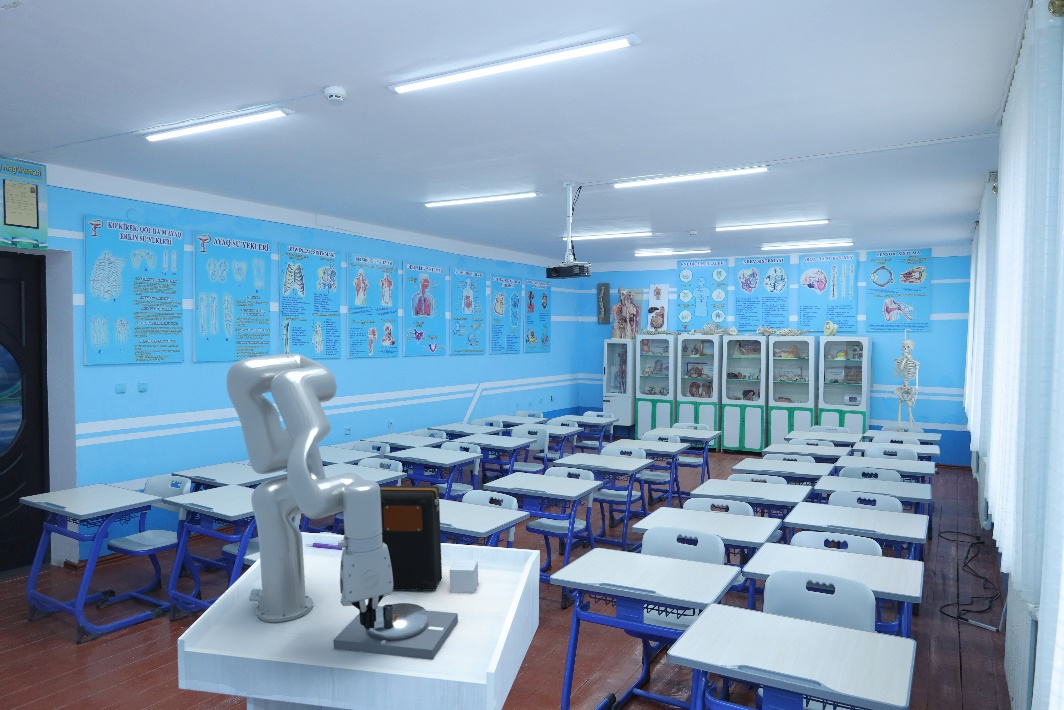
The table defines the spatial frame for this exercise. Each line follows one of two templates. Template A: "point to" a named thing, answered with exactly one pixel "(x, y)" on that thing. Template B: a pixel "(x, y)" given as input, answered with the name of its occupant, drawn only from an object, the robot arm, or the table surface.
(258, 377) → the robot arm
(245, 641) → the table surface
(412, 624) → the dial
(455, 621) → the grey base plate
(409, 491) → the voltmeter
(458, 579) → the light grey cube
